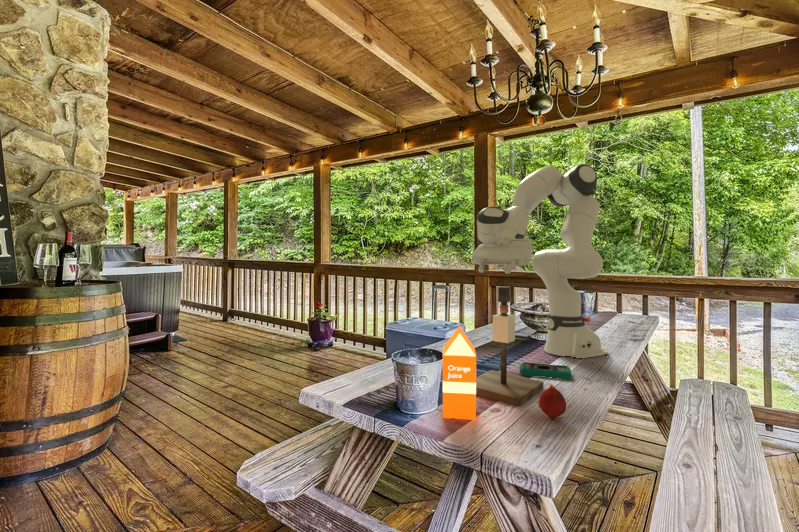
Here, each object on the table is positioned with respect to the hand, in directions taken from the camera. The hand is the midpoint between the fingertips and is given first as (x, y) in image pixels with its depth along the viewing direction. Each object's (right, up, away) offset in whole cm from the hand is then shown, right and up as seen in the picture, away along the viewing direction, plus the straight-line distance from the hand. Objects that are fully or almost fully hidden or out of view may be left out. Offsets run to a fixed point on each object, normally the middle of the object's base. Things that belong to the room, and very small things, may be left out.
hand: (493, 271), depth 125 cm
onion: (+4, -33, -39) cm, 52 cm away
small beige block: (-3, -19, -22) cm, 29 cm away
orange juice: (-17, -33, -35) cm, 51 cm away
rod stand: (-2, -32, -21) cm, 39 cm away
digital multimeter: (+14, -32, -8) cm, 36 cm away
